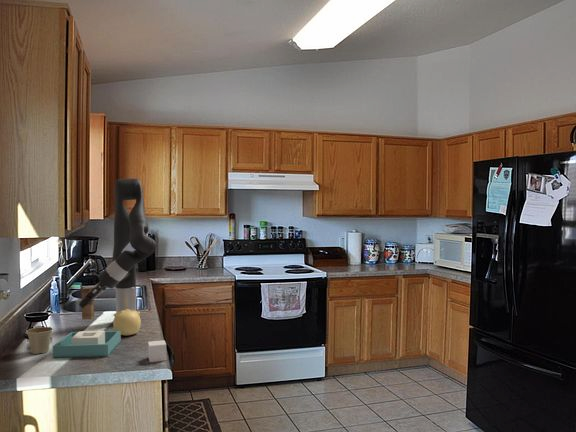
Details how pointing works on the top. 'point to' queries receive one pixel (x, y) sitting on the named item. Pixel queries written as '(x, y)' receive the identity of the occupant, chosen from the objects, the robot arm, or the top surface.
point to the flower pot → (39, 339)
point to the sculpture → (127, 322)
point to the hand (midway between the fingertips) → (82, 305)
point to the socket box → (87, 344)
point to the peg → (89, 308)
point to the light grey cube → (157, 351)
